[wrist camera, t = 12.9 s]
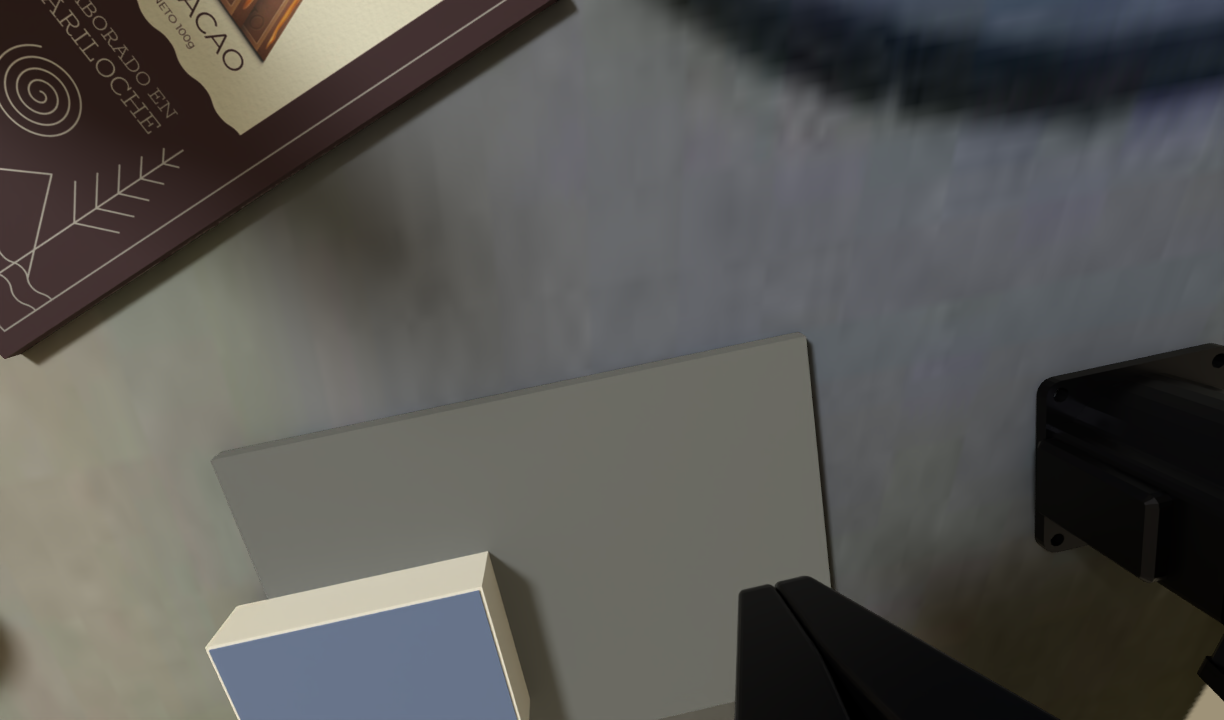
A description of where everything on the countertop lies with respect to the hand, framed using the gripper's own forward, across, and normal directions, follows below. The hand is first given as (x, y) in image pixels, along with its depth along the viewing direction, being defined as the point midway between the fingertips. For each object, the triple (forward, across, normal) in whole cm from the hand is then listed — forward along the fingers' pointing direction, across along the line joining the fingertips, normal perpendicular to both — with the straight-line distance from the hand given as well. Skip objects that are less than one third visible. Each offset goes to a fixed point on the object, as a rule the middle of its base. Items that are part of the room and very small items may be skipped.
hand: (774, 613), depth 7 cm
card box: (+10, +6, +8) cm, 15 cm away
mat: (+12, +4, +7) cm, 14 cm away
